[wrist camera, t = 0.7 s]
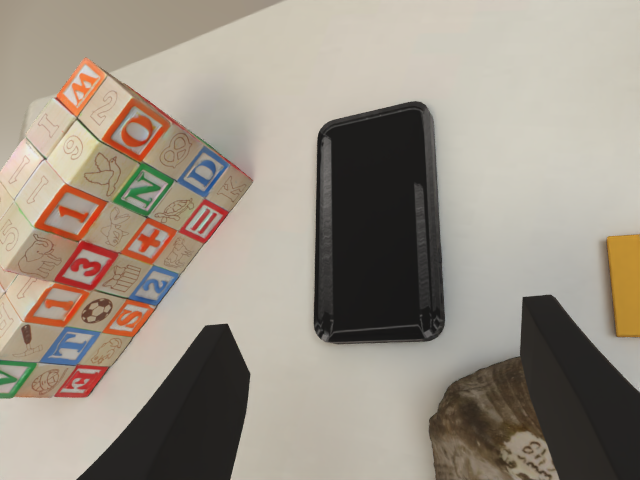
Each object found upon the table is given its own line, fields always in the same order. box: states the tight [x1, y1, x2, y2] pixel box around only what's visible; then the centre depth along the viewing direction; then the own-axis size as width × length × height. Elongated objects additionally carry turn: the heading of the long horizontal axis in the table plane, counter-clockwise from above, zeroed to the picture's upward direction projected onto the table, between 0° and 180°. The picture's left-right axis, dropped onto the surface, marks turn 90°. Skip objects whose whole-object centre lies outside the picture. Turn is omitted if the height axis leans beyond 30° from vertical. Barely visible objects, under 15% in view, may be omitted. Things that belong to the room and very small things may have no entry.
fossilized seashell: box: [429, 357, 559, 480], centre depth 23 cm, size 8×7×10 cm
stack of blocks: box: [0, 57, 253, 399], centre depth 35 cm, size 21×6×12 cm, turn 138°
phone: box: [314, 101, 445, 344], centre depth 32 cm, size 8×1×15 cm
